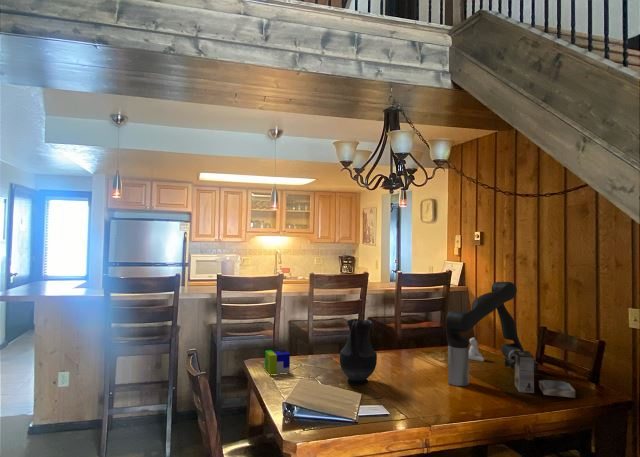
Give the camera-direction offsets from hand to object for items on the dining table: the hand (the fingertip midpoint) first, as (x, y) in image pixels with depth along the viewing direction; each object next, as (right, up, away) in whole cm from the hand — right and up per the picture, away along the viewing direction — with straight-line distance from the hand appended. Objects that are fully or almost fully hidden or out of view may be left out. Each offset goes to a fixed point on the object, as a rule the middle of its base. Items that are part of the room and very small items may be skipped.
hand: (523, 368), depth 194 cm
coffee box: (0, -9, -1) cm, 9 cm away
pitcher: (-74, -9, +6) cm, 75 cm away
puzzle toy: (-113, -10, +22) cm, 116 cm away
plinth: (+12, -9, -5) cm, 16 cm away
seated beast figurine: (-5, -10, +47) cm, 48 cm away
